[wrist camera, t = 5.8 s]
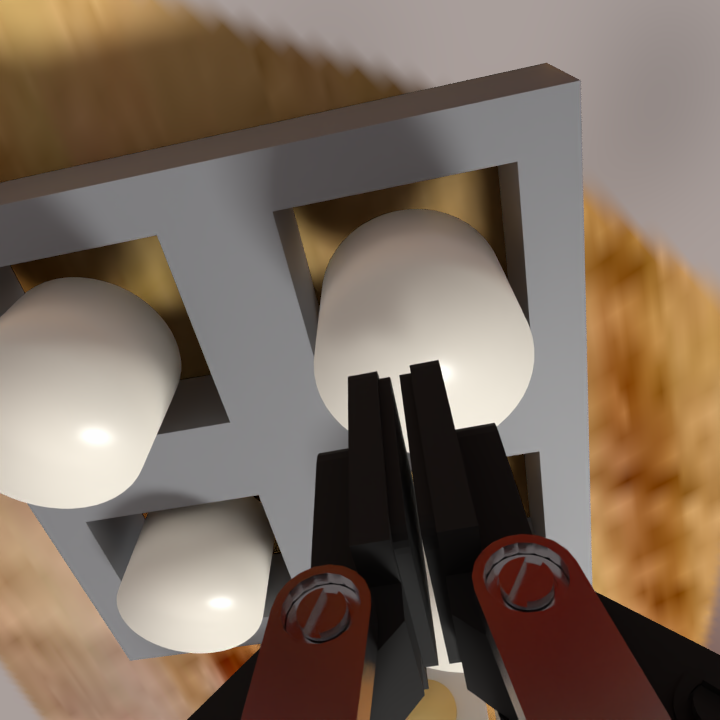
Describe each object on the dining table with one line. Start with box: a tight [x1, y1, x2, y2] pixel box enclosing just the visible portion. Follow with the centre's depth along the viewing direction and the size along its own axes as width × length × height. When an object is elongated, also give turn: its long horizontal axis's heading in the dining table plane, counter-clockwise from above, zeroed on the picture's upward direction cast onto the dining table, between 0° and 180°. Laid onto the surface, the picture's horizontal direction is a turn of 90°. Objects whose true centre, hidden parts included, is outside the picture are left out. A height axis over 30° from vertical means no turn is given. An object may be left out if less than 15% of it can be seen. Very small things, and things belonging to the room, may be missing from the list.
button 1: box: [314, 209, 534, 453], centre depth 15 cm, size 5×5×4 cm
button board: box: [0, 63, 592, 661], centre depth 21 cm, size 18×18×3 cm
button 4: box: [117, 496, 275, 653], centre depth 23 cm, size 5×5×4 cm
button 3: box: [0, 277, 181, 509], centre depth 16 cm, size 5×5×4 cm
